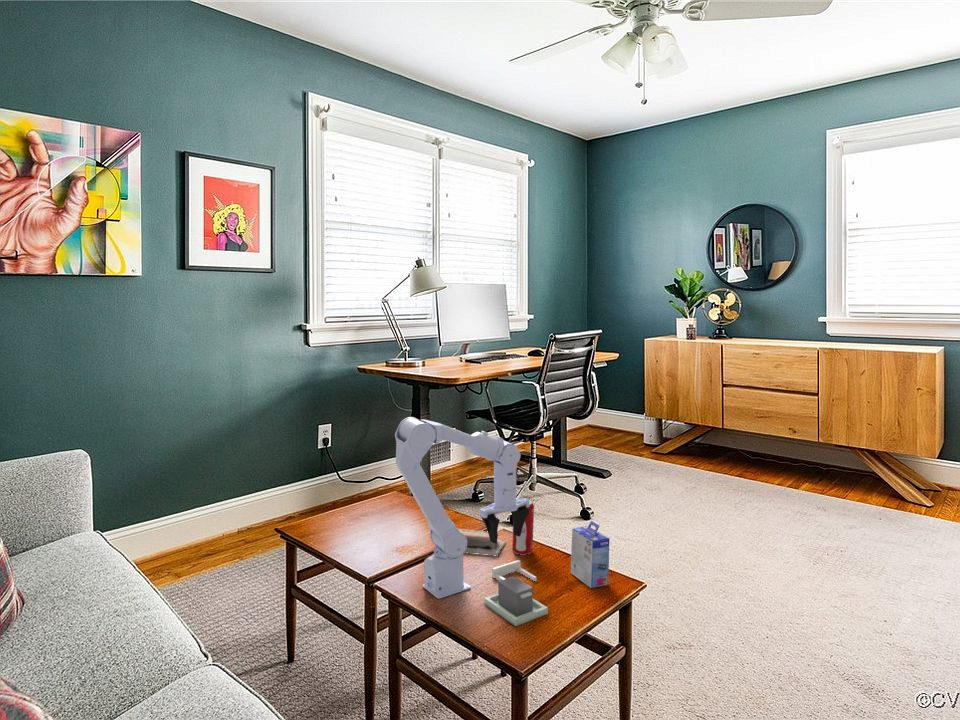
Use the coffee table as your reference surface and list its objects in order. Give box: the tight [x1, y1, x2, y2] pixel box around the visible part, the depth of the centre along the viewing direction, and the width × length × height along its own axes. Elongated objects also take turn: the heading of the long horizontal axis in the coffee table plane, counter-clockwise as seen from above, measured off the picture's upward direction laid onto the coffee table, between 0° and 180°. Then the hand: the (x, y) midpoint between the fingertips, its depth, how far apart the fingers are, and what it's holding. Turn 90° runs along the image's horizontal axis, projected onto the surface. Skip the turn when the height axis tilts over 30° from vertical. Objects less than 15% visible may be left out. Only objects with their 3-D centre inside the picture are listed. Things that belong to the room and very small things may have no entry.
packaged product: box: [457, 528, 506, 557], centre depth 175 cm, size 18×5×10 cm
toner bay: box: [491, 559, 538, 582], centre depth 155 cm, size 9×8×2 cm
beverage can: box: [511, 497, 535, 556], centre depth 171 cm, size 6×6×15 cm
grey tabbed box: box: [497, 576, 534, 617], centre depth 139 cm, size 5×8×6 cm, turn 34°
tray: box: [484, 592, 549, 627], centre depth 140 cm, size 9×12×2 cm
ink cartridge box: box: [570, 520, 610, 589], centre depth 154 cm, size 10×6×14 cm, turn 24°
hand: (505, 538), depth 157 cm, fingers open, 7 cm apart
